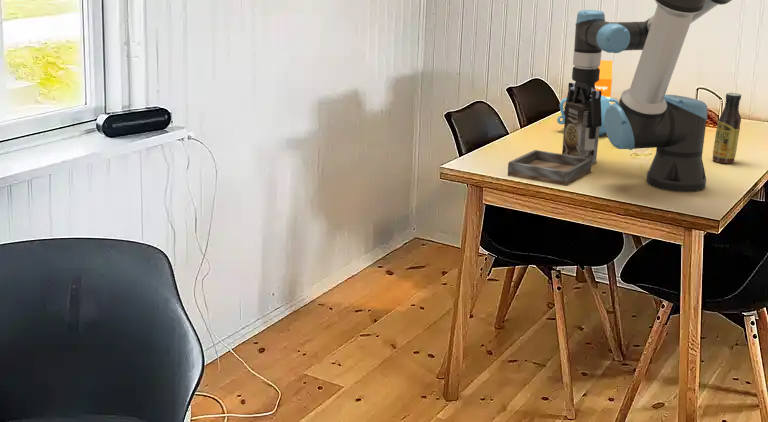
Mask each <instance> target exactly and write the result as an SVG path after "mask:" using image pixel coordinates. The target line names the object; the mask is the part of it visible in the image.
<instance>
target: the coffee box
mask: <svg viewBox="0 0 768 422" xmlns="http://www.w3.org/2000/svg"><path fill="white" fill-rule="evenodd" d="M565 105H566V110H565V123H564V124H563V125H564V126H563V127H564V128H563V137H562V138H563V139H562V151H561V152H562V153H561V154H563V155H569V156H575V157H582V158H588V159H592V164H596V163H597V157H598V148H599V147H598V146H599V138H600V136H599V128H600V126H599V127H597V128H596V137H595V144H594V150H584V146H585V135H586V126H588V122H587V118H588V111H591V108H585V105H584V104H583V102H582V103H573V102H567V103H566V102H565ZM591 123H592V122H591Z"/></svg>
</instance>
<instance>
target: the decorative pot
mask: <svg viewBox="0 0 768 422" xmlns="http://www.w3.org/2000/svg"><path fill="white" fill-rule="evenodd" d="M566 100H567V97H565V98H563V99H561V100H560V102H559V109H560V113H561V115H559V116H558V117H557V119H556V121H557V124H558V125H564V123H565V115H564V104H565V103H566ZM609 102H610V103H609ZM611 102H613V103H616V104H618V103H619V100H617V99H616V98H613V97H611V98H609V99H607V98H606V97H605V96H603V95H601V119H602V125H601V126H600V128H599V137H604V136H605V134H607V133H606V129H605V112H606V110H607V108H608V106H610V105H611ZM561 119H562V120H561Z"/></svg>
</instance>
